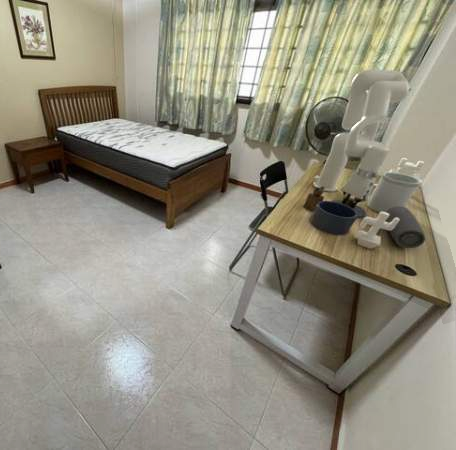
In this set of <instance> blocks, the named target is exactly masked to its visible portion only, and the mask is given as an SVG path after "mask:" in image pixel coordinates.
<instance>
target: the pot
mask: <svg viewBox="0 0 456 450" xmlns="http://www.w3.org/2000/svg"><path fill="white" fill-rule="evenodd" d="M333 201H334V200H323V201H321V202H318V204H317V206H316V208H315V210H314V211H312V212H313V213H312V214H311V217H310V219H309V221H310V224H311V226H313V227H314V228H316V229H318V230H320V231H321V232H324V233H326V234H331V235H337V236H339V235H340V236H342V235H346V234H348V233H349V232H350V230H351V228H352V226H354V223H355V221H356V220H357V218H358V217H357V216H358V213H357V212H356V211H355V210H354V209H353V208H351V207H349V206H347V205H344V204H341V203H338V202H333Z"/></svg>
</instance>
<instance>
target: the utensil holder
mask: <svg viewBox="0 0 456 450" xmlns="http://www.w3.org/2000/svg"><path fill="white" fill-rule="evenodd" d="M376 184H377V186H375V187H374V190H372V193H371V196H370V197H369V198H368V201H367V203H366V206H367V208H369V209H370V210H372V211H374V212H377V213H380V212H386V211H387V210H388V209H390V208H392V207H395V206H403V207H406V206H407V205H408V203H409V201H410V200H411V199H412V197H413V196H414V195H415V193H416V191H417V190H418V188H419V187H420V186H421V185H422V184H423V180H422V179H421V178H420V177H419V178H417V177H414V176H411V175H408V174H403V173H398V171H396V172H389V171H385V172H383V173H381V176H380V179H379V181H378V183H376Z"/></svg>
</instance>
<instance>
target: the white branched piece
mask: <svg viewBox="0 0 456 450" xmlns="http://www.w3.org/2000/svg"><path fill="white" fill-rule="evenodd" d="M424 165H425V161H423V160H418V161H417V162H416V164H414V163H413V162H409V161H408V158H406V157H402V158H401V159H400V161H399V163H398V164H397V168H391V169H390V170H388V172H398V173H403V174H408V175H411V176H414V177H417V178H419V179H420V176H421V174H420V173H416V172H421V169H422V168H423V167H424ZM377 184H378V183H375V184H374V186H373V187H376V186H377Z"/></svg>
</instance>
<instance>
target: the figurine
mask: <svg viewBox="0 0 456 450" xmlns="http://www.w3.org/2000/svg"><path fill="white" fill-rule="evenodd" d="M388 217H389V214H388V213H386V212H378V215H377V218H374V217H370V216H364V218H363V219H362V220H361V222H360V224H359V225H358V228H359V230H358V233H357V245H358V246H361V247H364V248H367V249H374V248H376V247H379V246H381V240H382V239H381V238H382V237H381V235H377V233H378V232H379V231H380V229H383V230H386V231H388V232H390V230H393V229H394V227H395V226H396V225H397V223H398V222H399V220H400V219H399V218H397V217H396V218H394V219H393V220H392V222H391V223H388V222H386V219H387V218H388ZM367 225H369V226H371V227H370V228H369V230H368V232H367V231H364V230H363V229H365V227H366V226H367Z"/></svg>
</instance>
